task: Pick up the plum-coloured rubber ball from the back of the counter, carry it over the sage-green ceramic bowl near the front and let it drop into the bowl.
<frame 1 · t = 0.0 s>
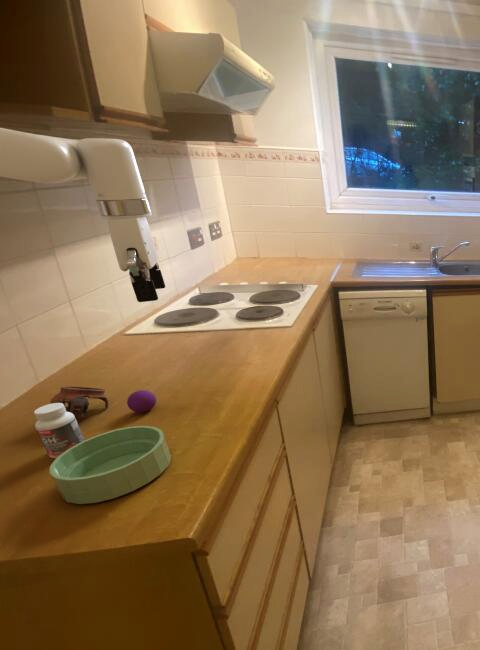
hand: (152, 294, 89), 27 cm above the countertop, tool pointing down, fingers open, 9 cm apart
ball: (141, 401, 98), point 2 cm above the countertop
brown arched stand: (82, 418, 96), on the countertop
pill bottle: (69, 451, 85), on the countertop
bowl: (120, 475, 79), on the countertop
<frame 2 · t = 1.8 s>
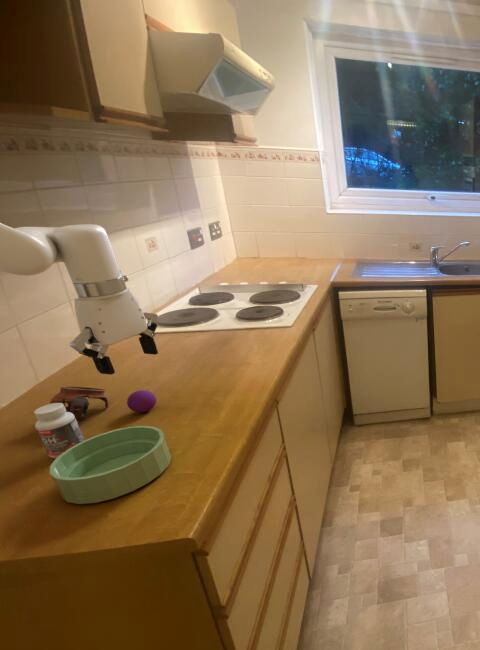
hand: (130, 363, 94), 12 cm above the countertop, tool pointing down, fingers open, 9 cm apart
nothing on the countertop moved.
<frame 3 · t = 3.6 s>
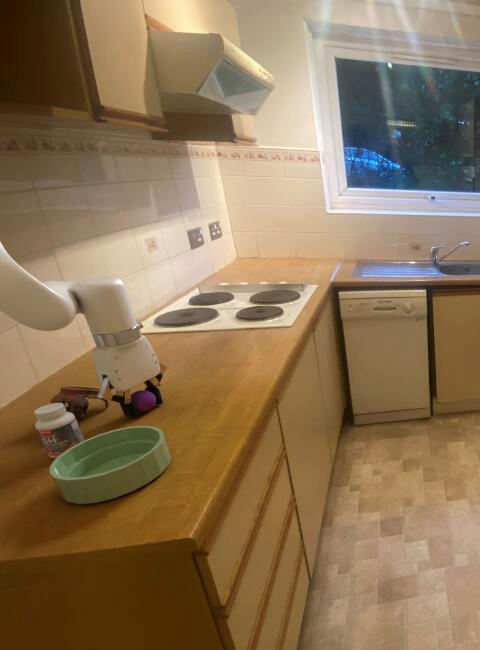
hand: (144, 409, 98), 0 cm above the countertop, tool pointing down, fingers closed on ball, 4 cm apart
ball: (141, 401, 98), point 2 cm above the countertop, touching gripper
everything else where it was.
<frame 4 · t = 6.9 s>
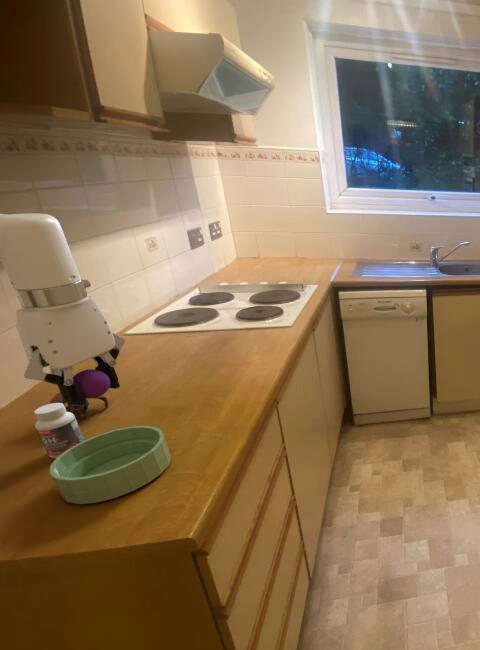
hand: (94, 394, 75), 15 cm above the countertop, tool pointing down, fingers closed on ball, 4 cm apart
ball: (90, 383, 74), point 17 cm above the countertop, touching gripper
everything else where it was.
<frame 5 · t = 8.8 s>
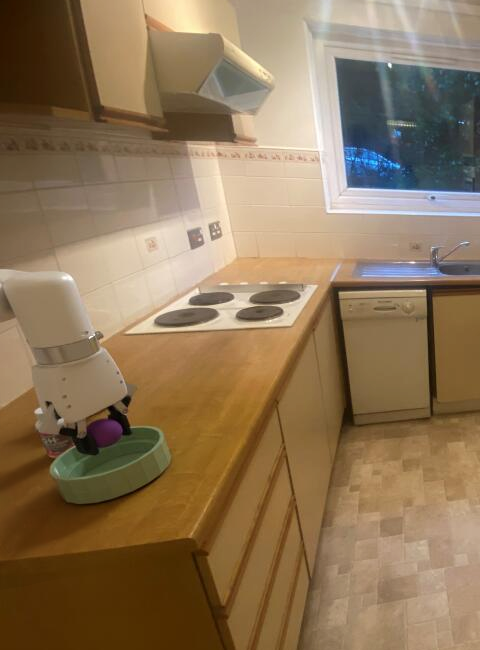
hand: (107, 442, 76), 7 cm above the countertop, tool pointing down, fingers closed on ball, 4 cm apart
ball: (103, 432, 75), point 9 cm above the countertop, touching gripper
everything else where it was.
when the fingers open (4 cm above the countertop, at t = 10.1 s): ball drops 3 cm, resting on bowl.
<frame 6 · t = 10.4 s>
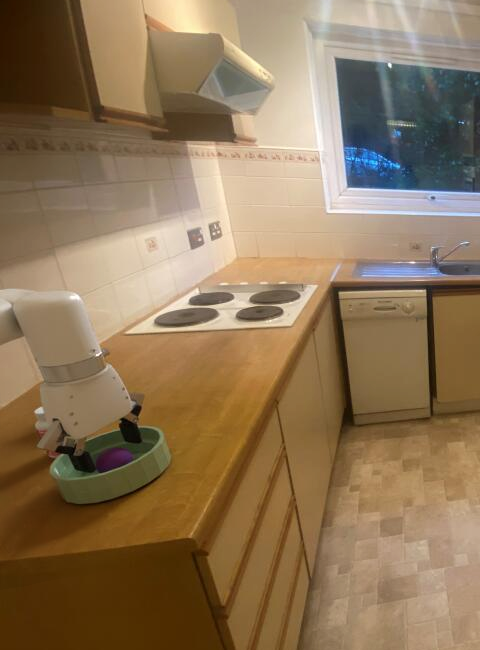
hand: (111, 455, 77), 4 cm above the countertop, tool pointing down, fingers open, 7 cm apart
ball: (114, 461, 78), point 3 cm above the countertop, touching bowl
everything else where it was.
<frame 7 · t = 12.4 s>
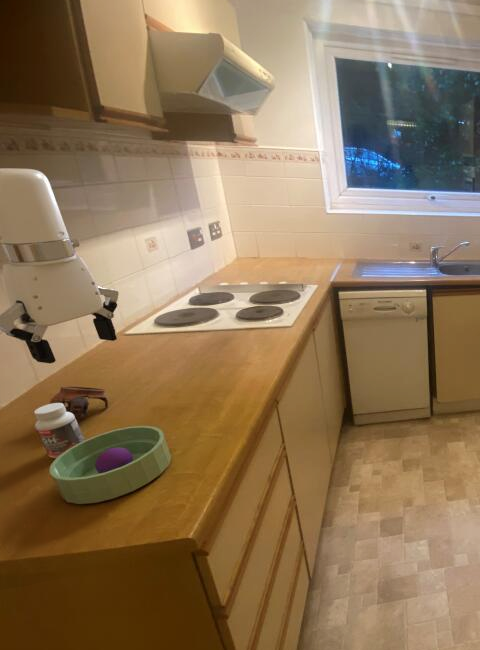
hand: (79, 350, 75), 23 cm above the countertop, tool pointing down, fingers open, 9 cm apart
nothing on the countertop moved.
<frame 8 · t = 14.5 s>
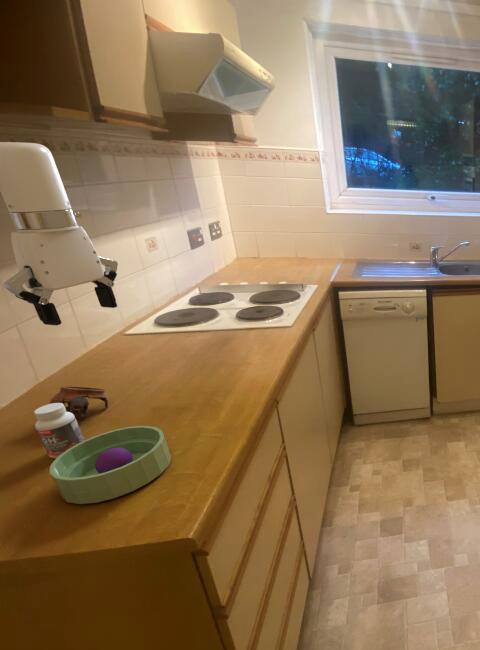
hand: (82, 315, 81), 26 cm above the countertop, tool pointing down, fingers open, 9 cm apart
nothing on the countertop moved.
at the end: ball inside the target area in the bowl (0.1 cm from its centre), point 3.0 cm above the bowl's base; the gripper is holding nothing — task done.
